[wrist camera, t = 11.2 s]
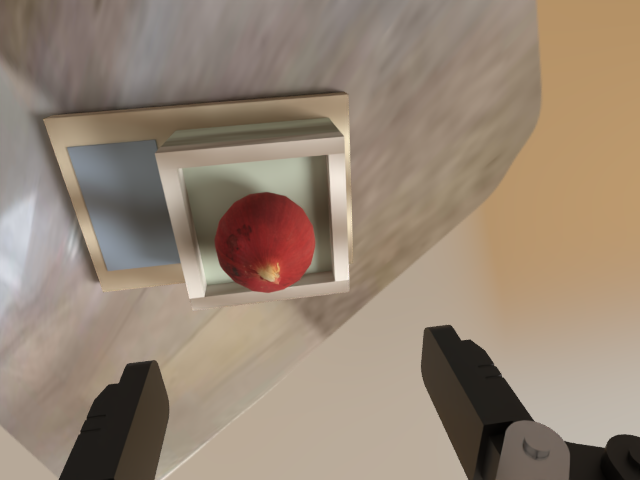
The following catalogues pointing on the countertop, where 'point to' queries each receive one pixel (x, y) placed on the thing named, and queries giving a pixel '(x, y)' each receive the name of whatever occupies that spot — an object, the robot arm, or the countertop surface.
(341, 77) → the countertop surface
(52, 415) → the countertop surface
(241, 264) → the onion
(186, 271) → the tray with open box
